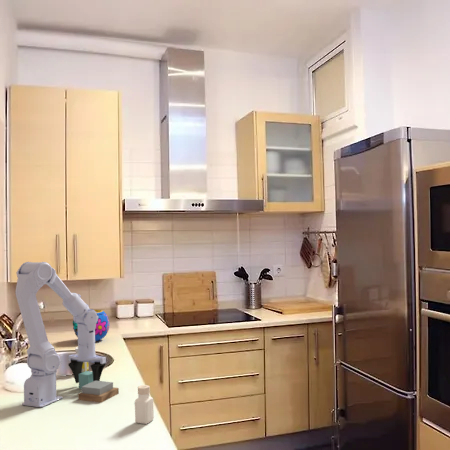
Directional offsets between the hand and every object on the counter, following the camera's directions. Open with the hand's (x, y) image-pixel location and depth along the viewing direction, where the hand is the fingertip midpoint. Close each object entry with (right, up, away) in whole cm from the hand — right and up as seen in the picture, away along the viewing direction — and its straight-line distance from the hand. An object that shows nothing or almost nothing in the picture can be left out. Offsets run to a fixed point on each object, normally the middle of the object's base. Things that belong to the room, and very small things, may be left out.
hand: (87, 383), depth 167 cm
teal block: (0, -2, 0) cm, 2 cm away
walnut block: (+7, -2, -10) cm, 12 cm away
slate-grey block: (+6, +1, -10) cm, 12 cm away
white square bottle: (+25, 0, -33) cm, 42 cm away
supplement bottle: (-7, -2, +18) cm, 20 cm away
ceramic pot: (-20, -5, +79) cm, 81 cm away
